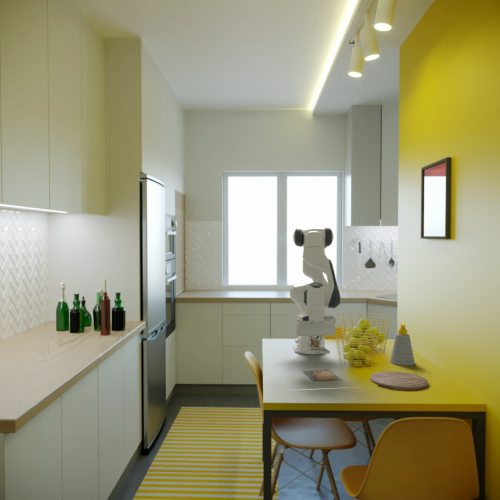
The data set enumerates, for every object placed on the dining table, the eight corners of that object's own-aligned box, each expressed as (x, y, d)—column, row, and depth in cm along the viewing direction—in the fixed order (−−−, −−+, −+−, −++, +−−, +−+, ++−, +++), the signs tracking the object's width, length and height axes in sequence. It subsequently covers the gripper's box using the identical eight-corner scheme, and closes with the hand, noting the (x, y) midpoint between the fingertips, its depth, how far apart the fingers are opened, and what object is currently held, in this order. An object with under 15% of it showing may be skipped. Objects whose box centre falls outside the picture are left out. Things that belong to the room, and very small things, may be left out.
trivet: (359, 377, 224) (359, 373, 224) (403, 373, 233) (403, 369, 233) (393, 393, 201) (393, 389, 201) (440, 388, 210) (440, 383, 210)
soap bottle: (389, 364, 248) (390, 325, 248) (390, 359, 260) (391, 321, 260) (414, 366, 244) (415, 326, 244) (414, 361, 256) (415, 323, 256)
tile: (312, 371, 224) (318, 376, 216) (329, 370, 226) (335, 375, 218) (312, 375, 224) (318, 380, 216) (329, 374, 226) (335, 379, 218)
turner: (304, 345, 240) (304, 337, 240) (317, 344, 241) (317, 336, 241) (315, 354, 222) (315, 345, 222) (329, 353, 224) (330, 344, 223)
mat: (301, 372, 231) (301, 371, 231) (329, 370, 234) (329, 369, 234) (313, 382, 214) (313, 381, 214) (343, 381, 216) (343, 380, 216)
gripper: (333, 314, 239) (332, 342, 239) (293, 315, 235) (293, 343, 236) (338, 317, 233) (337, 345, 233) (297, 318, 229) (296, 346, 229)
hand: (314, 344), depth 234 cm, fingers closed on turner, 3 cm apart
